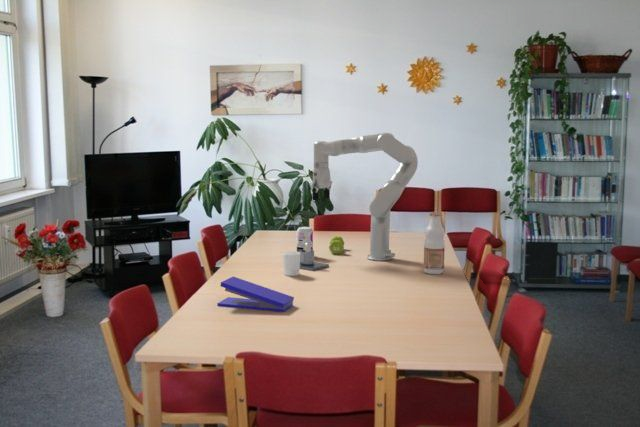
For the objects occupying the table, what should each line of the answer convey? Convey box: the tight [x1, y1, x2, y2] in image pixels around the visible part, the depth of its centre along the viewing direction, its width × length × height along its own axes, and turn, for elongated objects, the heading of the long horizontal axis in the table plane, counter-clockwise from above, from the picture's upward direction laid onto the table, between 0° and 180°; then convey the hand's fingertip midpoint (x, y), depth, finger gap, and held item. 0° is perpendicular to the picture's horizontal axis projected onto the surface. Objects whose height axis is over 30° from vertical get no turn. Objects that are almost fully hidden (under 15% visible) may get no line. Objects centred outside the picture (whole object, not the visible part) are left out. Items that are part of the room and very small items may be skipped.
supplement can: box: [296, 226, 314, 252], centre depth 377 cm, size 8×8×15 cm
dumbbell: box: [328, 235, 345, 255], centre depth 392 cm, size 16×8×7 cm, turn 176°
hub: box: [299, 249, 315, 263], centre depth 355 cm, size 7×7×5 cm
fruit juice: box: [423, 212, 446, 275], centre depth 343 cm, size 9×9×28 cm
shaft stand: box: [299, 243, 330, 272], centre depth 354 cm, size 16×12×11 cm
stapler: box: [217, 276, 295, 313], centre depth 285 cm, size 12×28×10 cm, turn 73°
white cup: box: [282, 251, 300, 277], centre depth 337 cm, size 8×8×10 cm
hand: (321, 199), depth 376 cm, fingers open, 9 cm apart
